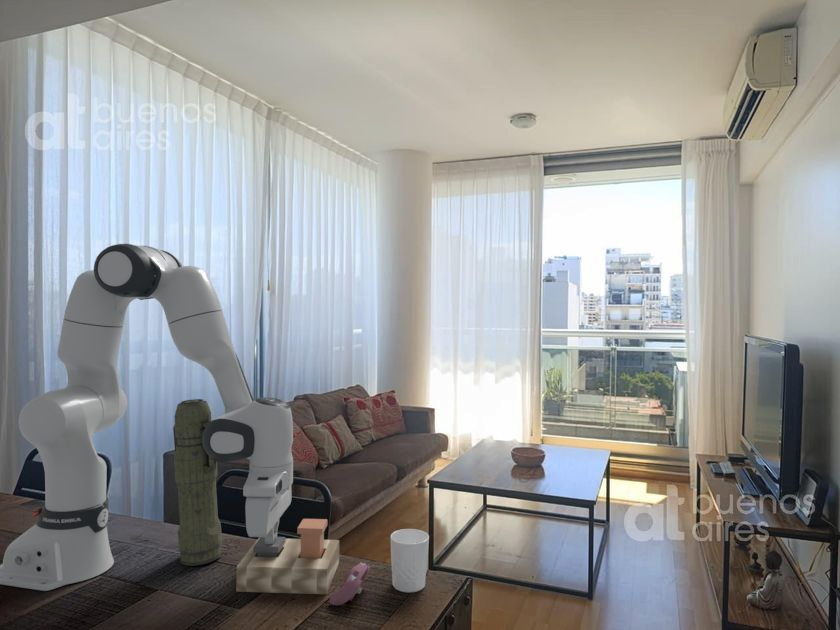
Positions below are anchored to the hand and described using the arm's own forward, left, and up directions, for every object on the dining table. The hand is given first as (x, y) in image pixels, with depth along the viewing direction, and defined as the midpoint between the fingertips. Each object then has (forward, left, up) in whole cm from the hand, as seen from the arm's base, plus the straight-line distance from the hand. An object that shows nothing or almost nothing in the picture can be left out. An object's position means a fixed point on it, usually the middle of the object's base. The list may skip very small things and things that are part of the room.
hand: (271, 541), depth 117 cm
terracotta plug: (+9, 0, -3) cm, 9 cm away
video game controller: (+18, -7, -8) cm, 21 cm away
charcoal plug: (0, 0, -7) cm, 7 cm away
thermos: (-18, +7, -7) cm, 20 cm away
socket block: (+4, 0, -7) cm, 8 cm away
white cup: (+29, -2, -7) cm, 30 cm away
